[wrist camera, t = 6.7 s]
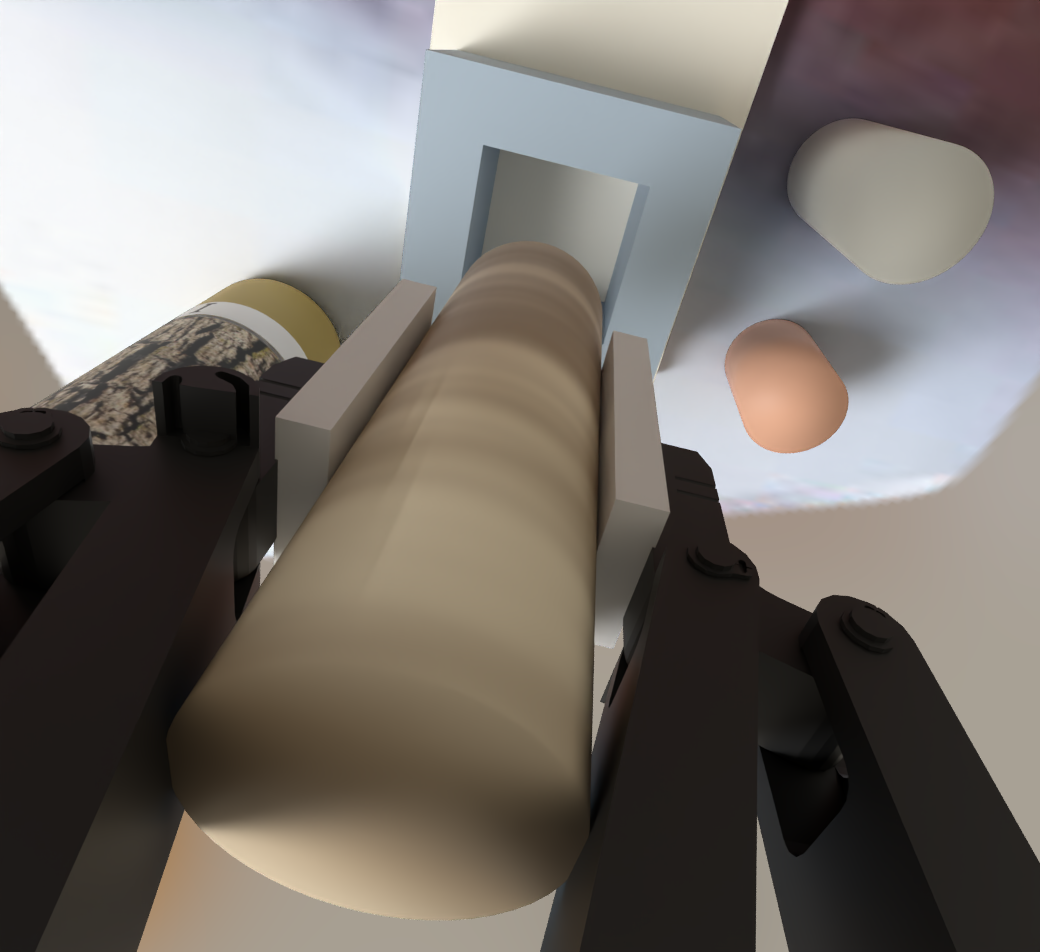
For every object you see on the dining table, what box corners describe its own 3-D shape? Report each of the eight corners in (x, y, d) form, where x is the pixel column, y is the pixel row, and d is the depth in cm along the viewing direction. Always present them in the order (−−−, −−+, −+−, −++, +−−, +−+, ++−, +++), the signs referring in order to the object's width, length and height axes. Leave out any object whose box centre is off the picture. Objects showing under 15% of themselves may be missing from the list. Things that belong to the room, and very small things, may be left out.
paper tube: (365, 314, 32) (-104, 821, 11) (325, 425, 35) (-87, 967, 14) (228, 247, 31) (-579, 663, 10) (201, 368, 34) (-434, 861, 14)
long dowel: (467, 224, 17) (144, 611, 5) (621, 261, 17) (646, 729, 5) (444, 367, 19) (179, 870, 7) (580, 400, 19) (535, 952, 7)
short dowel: (744, 309, 30) (766, 352, 26) (831, 331, 30) (867, 377, 26) (711, 389, 32) (727, 440, 28) (792, 409, 32) (820, 463, 28)
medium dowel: (813, 107, 25) (886, 126, 19) (914, 132, 26) (1024, 161, 19) (770, 214, 28) (822, 267, 21) (864, 238, 28) (945, 297, 21)
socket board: (467, -207, 22) (423, -287, 17) (821, -115, 22) (886, -165, 17) (405, 314, 32) (364, 366, 26) (651, 374, 32) (659, 437, 27)
